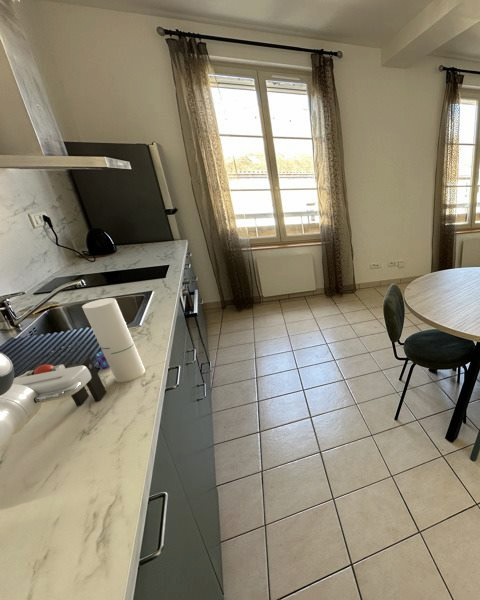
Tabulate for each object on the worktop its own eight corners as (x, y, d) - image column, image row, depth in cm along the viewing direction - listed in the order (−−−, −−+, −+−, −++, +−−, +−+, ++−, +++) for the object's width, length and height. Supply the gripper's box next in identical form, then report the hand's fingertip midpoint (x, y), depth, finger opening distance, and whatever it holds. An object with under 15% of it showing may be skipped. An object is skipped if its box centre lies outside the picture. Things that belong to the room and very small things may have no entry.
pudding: (96, 361, 110) (90, 348, 108) (139, 352, 114) (133, 339, 112) (81, 381, 100) (74, 366, 98) (129, 369, 104) (123, 355, 102)
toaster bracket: (104, 411, 86) (83, 371, 81) (61, 422, 83) (37, 380, 78) (122, 385, 96) (104, 348, 91) (84, 394, 93) (64, 355, 89)
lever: (50, 378, 74) (48, 363, 74) (30, 383, 73) (27, 367, 73) (89, 373, 87) (87, 360, 87) (72, 377, 86) (70, 363, 86)
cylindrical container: (129, 372, 103) (97, 298, 93) (152, 370, 103) (122, 297, 93) (111, 386, 96) (74, 308, 87) (135, 385, 96) (101, 307, 87)
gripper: (65, 380, 66) (96, 348, 78) (-76, 409, 59) (-18, 369, 71) (78, 405, 68) (107, 370, 80) (-55, 436, 62) (-3, 393, 74)
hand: (47, 370), depth 76 cm, fingers closed on lever, 3 cm apart
